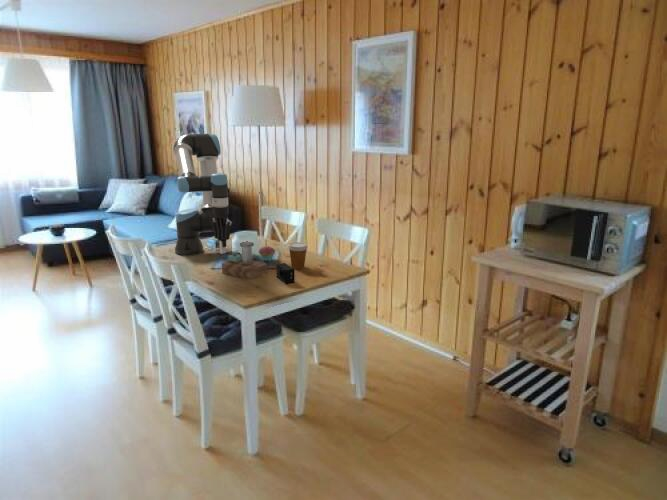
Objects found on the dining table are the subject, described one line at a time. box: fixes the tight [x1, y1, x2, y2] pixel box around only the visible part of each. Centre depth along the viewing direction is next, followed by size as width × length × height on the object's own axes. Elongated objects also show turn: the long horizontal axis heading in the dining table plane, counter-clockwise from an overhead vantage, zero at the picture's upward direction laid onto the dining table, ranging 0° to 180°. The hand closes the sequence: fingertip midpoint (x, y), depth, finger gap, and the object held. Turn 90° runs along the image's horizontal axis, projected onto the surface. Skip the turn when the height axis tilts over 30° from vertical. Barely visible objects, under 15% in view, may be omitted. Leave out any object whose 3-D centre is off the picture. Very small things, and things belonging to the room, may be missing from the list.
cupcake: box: [258, 239, 276, 262], centre depth 242 cm, size 9×8×12 cm
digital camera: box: [276, 262, 295, 285], centre depth 213 cm, size 10×5×7 cm, turn 32°
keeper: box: [227, 253, 242, 262], centre depth 224 cm, size 5×4×3 cm
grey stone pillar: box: [240, 241, 255, 266], centre depth 219 cm, size 5×5×16 cm
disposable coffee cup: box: [288, 242, 308, 270], centre depth 231 cm, size 10×10×12 cm
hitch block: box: [221, 259, 268, 281], centre depth 222 cm, size 18×12×6 cm, turn 58°
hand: (222, 253), depth 227 cm, fingers closed
